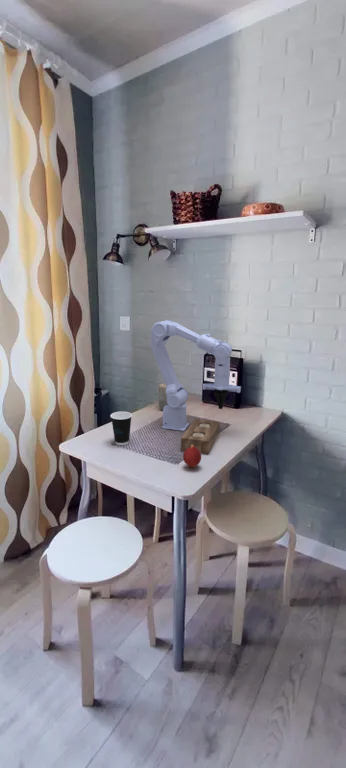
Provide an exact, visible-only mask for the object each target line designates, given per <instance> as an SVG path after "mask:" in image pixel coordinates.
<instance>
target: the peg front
mask: <svg viewBox="0 0 346 768" xmlns="http://www.w3.org/2000/svg"><path fill="white" fill-rule="evenodd" d="M193 436H195V437H204V434H202V433H194V434H193Z"/></svg>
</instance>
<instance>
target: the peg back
mask: <svg viewBox="0 0 346 768" xmlns="http://www.w3.org/2000/svg"><path fill="white" fill-rule="evenodd" d="M199 427H208V428H209V427H210V425H209V424H205V423H203V424H200V425H199Z"/></svg>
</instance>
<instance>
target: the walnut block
mask: <svg viewBox="0 0 346 768" xmlns="http://www.w3.org/2000/svg"><path fill="white" fill-rule="evenodd" d="M203 423H205V424H209V425H210V427H209V428H208V427H199V425H200V424H203ZM220 424H221V422H220V421H216V420H215V421H214V420H207V419H205V420H203V419H196V418H195V419H193V422H191V424H189V427H187V428H186V431H185V432H184V433H183V434H182V436H181V438H180V451H181V452H185V451H186V449H188V448H189V447H190V445H193V446H194V447H196V448H197V449H198V450H199V451H200V453H201V455H210V453H211V451H212V449H213V447H214V445H215V443H216V441H217V439H218V438H219V436H220V430H221V429H220V427H221V426H220ZM194 433H202V434H204V437H195V436H193V434H194Z"/></svg>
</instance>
